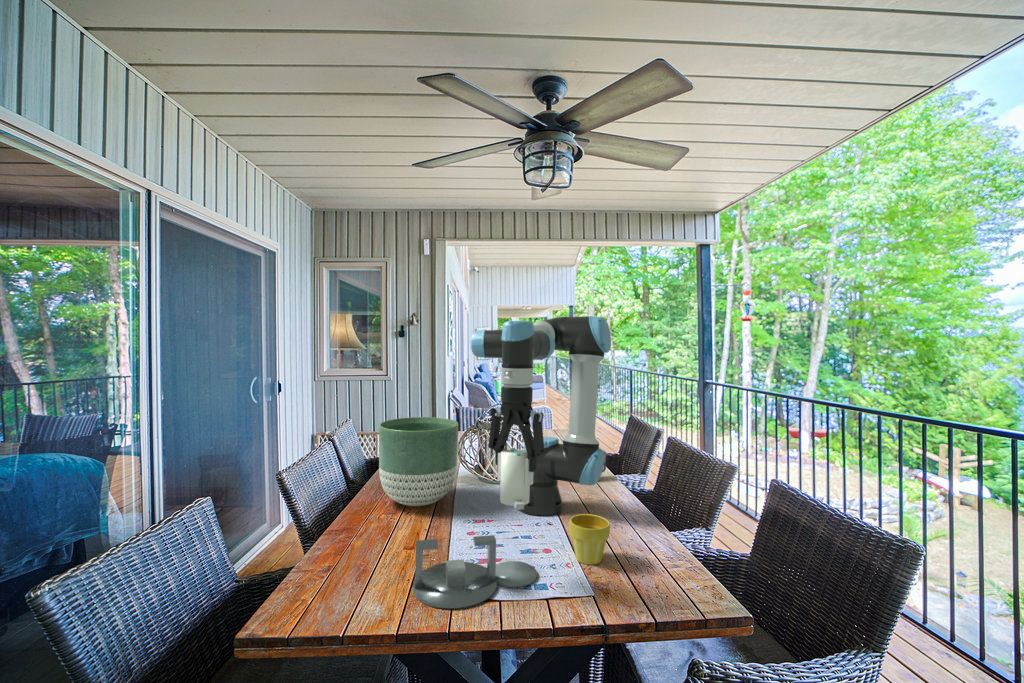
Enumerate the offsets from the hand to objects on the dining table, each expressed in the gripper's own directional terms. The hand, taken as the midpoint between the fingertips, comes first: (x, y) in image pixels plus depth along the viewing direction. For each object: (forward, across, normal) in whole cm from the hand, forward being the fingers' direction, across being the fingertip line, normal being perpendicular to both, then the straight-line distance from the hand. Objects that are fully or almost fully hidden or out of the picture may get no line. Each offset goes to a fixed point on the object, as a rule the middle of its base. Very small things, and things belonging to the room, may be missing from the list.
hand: (515, 481), depth 110 cm
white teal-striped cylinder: (+5, 0, 0) cm, 5 cm away
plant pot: (+23, +11, +18) cm, 31 cm away
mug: (+23, -15, +83) cm, 87 cm away
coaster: (+22, 0, 0) cm, 22 cm away
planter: (+23, -54, +23) cm, 63 cm away
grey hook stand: (+22, -8, -11) cm, 26 cm away
